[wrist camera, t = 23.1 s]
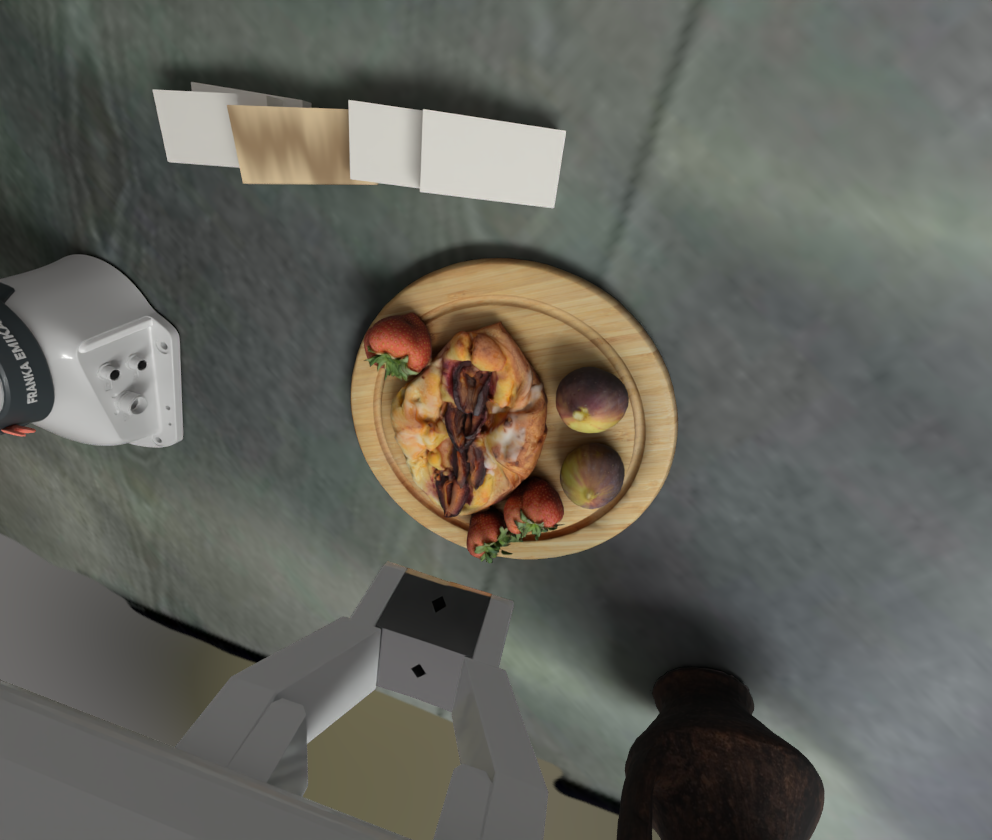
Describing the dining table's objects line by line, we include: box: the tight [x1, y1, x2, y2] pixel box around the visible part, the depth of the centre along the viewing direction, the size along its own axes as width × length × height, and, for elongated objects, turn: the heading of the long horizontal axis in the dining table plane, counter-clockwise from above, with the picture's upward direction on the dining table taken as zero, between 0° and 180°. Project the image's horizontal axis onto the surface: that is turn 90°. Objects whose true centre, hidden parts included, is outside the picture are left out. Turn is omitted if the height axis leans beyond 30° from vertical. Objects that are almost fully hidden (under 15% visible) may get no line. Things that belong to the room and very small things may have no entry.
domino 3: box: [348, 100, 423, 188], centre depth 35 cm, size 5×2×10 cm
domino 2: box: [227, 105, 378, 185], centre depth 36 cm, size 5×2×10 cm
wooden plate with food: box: [351, 258, 678, 563], centre depth 43 cm, size 32×32×8 cm
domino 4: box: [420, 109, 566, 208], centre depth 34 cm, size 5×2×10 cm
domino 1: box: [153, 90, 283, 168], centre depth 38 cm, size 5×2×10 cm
